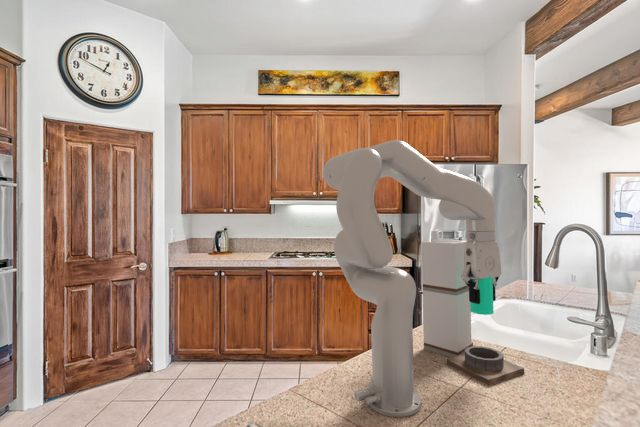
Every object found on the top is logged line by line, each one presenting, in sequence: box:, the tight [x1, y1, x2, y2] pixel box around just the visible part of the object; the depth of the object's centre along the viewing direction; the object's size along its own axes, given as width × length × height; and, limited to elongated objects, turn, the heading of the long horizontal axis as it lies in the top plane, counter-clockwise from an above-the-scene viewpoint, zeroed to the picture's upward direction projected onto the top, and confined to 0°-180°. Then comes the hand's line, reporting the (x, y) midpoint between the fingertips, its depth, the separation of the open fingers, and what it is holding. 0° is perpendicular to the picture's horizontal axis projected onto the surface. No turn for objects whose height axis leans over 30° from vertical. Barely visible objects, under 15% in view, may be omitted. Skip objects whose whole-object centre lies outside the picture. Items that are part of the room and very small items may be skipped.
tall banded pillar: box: [420, 239, 474, 358], centre depth 109 cm, size 11×11×35 cm
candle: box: [470, 276, 494, 316], centre depth 95 cm, size 6×6×12 cm
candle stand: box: [446, 345, 525, 386], centre depth 95 cm, size 14×14×4 cm
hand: (482, 300), depth 95 cm, fingers closed on candle, 5 cm apart
